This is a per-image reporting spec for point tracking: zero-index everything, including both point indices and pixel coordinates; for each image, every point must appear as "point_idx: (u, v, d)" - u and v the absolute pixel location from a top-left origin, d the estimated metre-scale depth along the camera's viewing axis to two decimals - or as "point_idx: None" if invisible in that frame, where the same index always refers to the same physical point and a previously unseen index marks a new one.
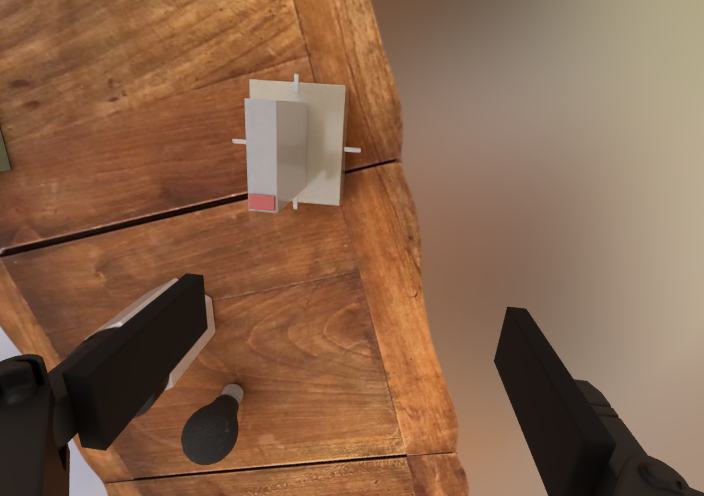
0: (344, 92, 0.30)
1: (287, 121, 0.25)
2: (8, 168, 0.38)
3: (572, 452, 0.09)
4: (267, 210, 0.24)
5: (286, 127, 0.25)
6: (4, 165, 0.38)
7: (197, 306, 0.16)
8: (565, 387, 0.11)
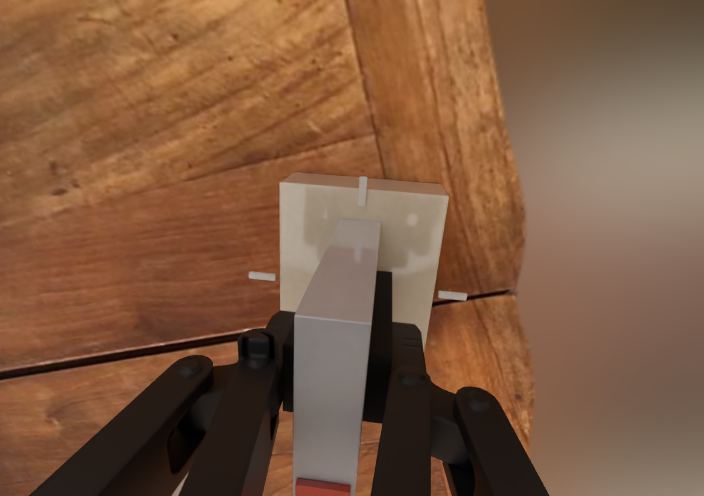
0: (446, 206, 0.17)
1: None
2: None
3: (367, 368, 0.12)
4: None
5: None
6: None
7: None
8: (380, 323, 0.13)
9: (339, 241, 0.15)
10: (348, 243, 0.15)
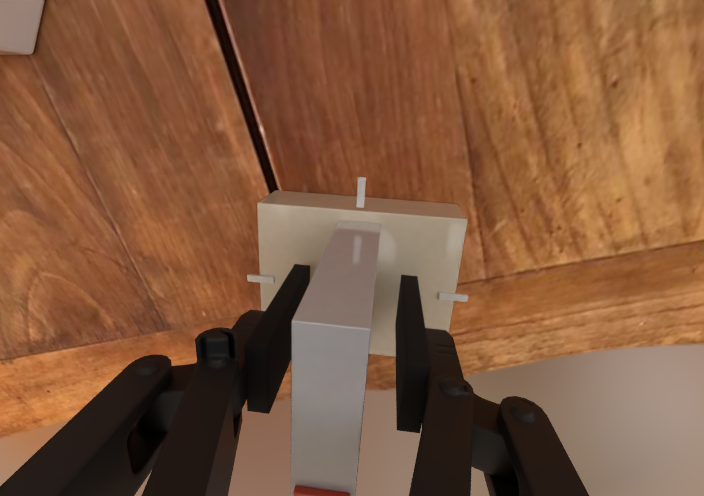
0: None
1: None
2: None
3: (403, 376, 0.12)
4: None
5: None
6: None
7: None
8: (414, 330, 0.13)
9: (338, 244, 0.14)
10: (347, 245, 0.14)
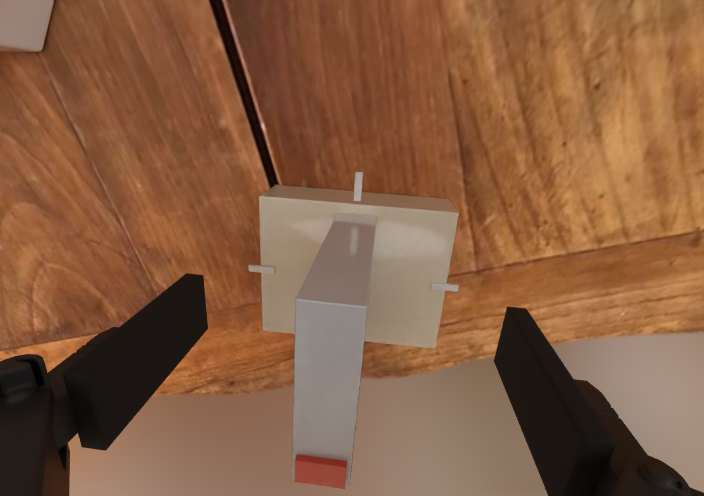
0: (425, 346, 0.21)
1: None
2: None
3: (572, 452, 0.09)
4: (330, 485, 0.12)
5: None
6: None
7: (197, 306, 0.16)
8: (565, 387, 0.11)
9: (336, 234, 0.15)
10: (345, 235, 0.15)
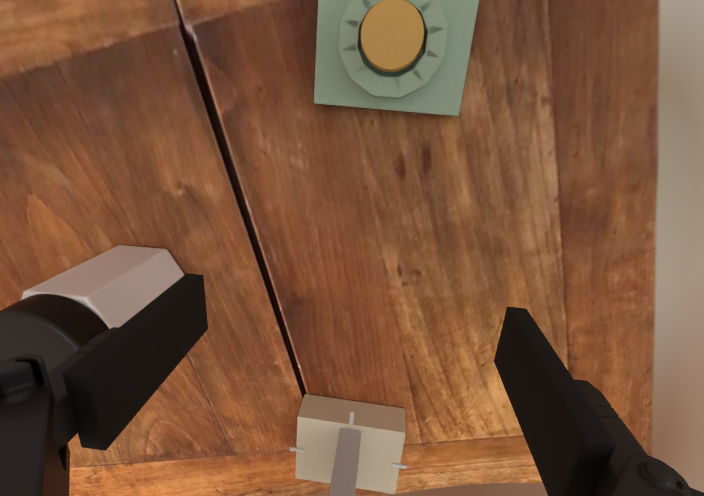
0: (389, 492, 0.36)
1: None
2: None
3: (572, 452, 0.09)
4: None
5: None
6: None
7: (197, 306, 0.16)
8: (565, 387, 0.11)
9: (339, 460, 0.31)
10: (343, 461, 0.31)
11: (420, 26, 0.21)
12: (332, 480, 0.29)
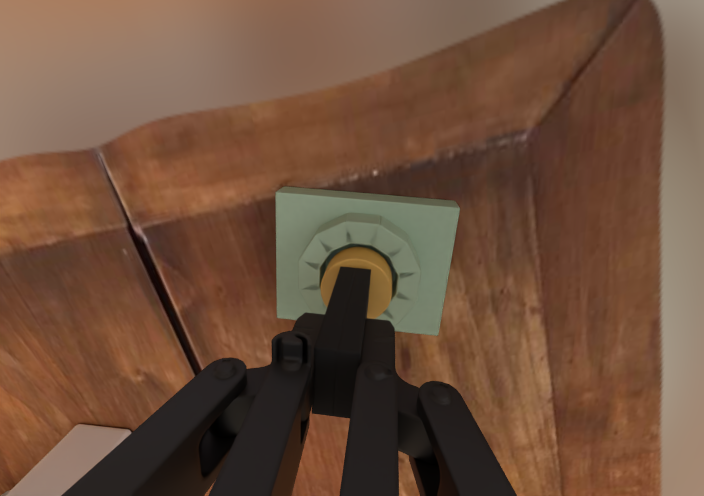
0: None
1: None
2: None
3: None
4: None
5: None
6: None
7: None
8: (353, 319, 0.13)
9: None
10: None
11: (387, 286, 0.18)
12: None
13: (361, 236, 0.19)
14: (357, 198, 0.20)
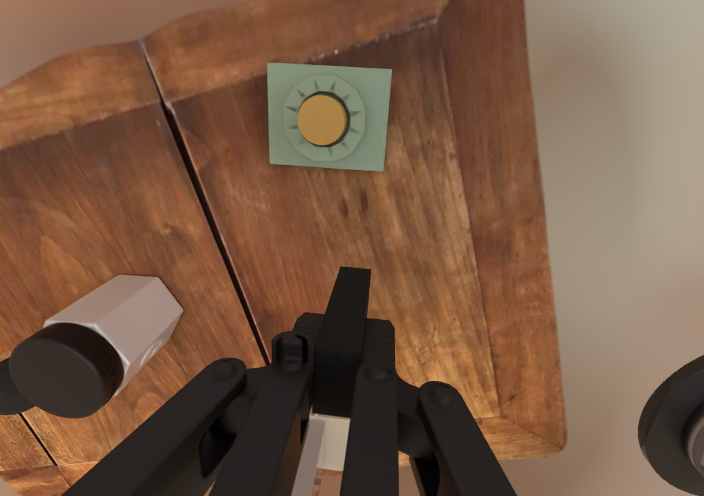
0: None
1: (314, 485, 0.35)
2: None
3: None
4: None
5: (314, 489, 0.35)
6: None
7: None
8: (353, 319, 0.13)
9: (305, 445, 0.38)
10: (308, 445, 0.38)
11: (341, 114, 0.27)
12: None
13: (324, 85, 0.28)
14: (323, 65, 0.29)
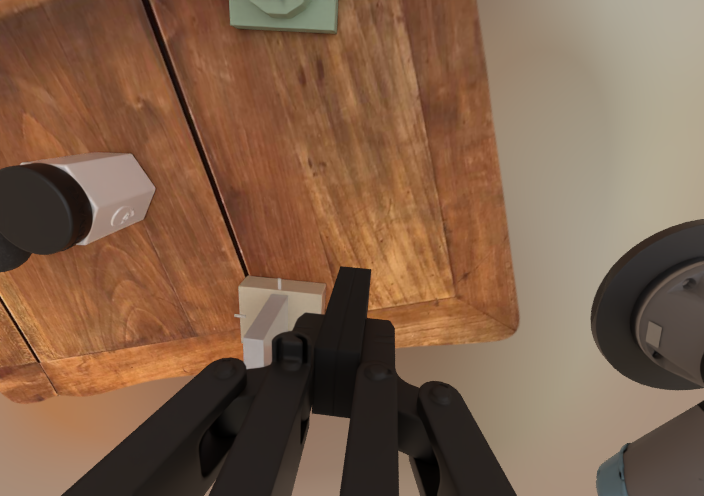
0: None
1: (271, 336, 0.38)
2: (237, 28, 0.36)
3: None
4: None
5: (270, 340, 0.38)
6: (240, 27, 0.36)
7: None
8: (353, 319, 0.13)
9: (266, 308, 0.40)
10: (269, 308, 0.40)
11: None
12: (257, 316, 0.39)
13: None
14: None
